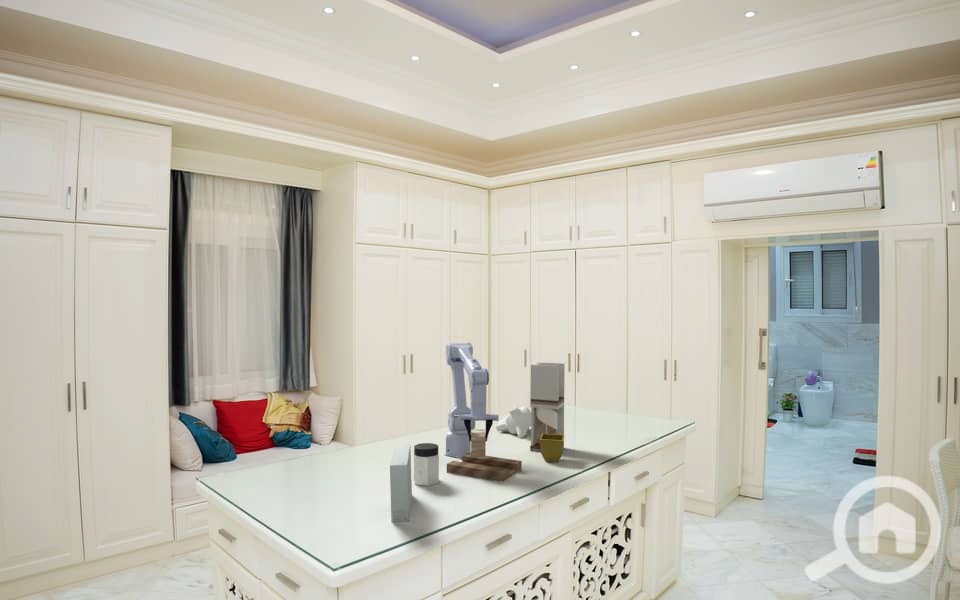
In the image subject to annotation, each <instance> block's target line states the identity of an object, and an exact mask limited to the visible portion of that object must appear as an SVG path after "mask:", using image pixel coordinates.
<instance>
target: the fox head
mask: <svg viewBox="0 0 960 600" xmlns="http://www.w3.org/2000/svg"><path fill="white" fill-rule="evenodd" d="M518 406H519V405H517V406H515V407H514V408H512V409H511V410H509V412H508V414H507V415H506V417H504V418H502V419H500V420H499V421H498V424H496V425H495V428H496V431H497V432H502V433H508V432H509V433H511V435H512V434H513V435H517V437H518V439H522V438H524V437H525V436H527V434H528V430H529V429H531V409H530V408H528V407H526V406H521V407H520V408H518Z"/></svg>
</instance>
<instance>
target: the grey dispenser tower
mask: <svg viewBox="0 0 960 600" xmlns="http://www.w3.org/2000/svg"><path fill="white" fill-rule="evenodd" d="M565 371H566V369H565V363H561V362H542V361H541V362H540V361H539V362H535V363H532V364H530V412H531V426H530V447H529V451H530V452H534V451H535V452H536V453H541V445H540V438H541V435H542V434H557V435H564V436H565ZM564 448H565V443H564V444H563V449H564ZM535 452H534V453H535Z"/></svg>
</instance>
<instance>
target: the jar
mask: <svg viewBox="0 0 960 600" xmlns="http://www.w3.org/2000/svg"><path fill="white" fill-rule="evenodd" d="M439 461H440V457H439V445H438V444H436V443H433V442H432V443H431V442H424V443H417V444H415V445H414V448H413V482H414V484H415V485H417V486H425V487H428V486H433V485H436V484H439V482H440V481H439V480H440V479H439V476H440V475H439V473H440V472H439V471H440V470H439V469H440V467H439V466H440V462H439Z"/></svg>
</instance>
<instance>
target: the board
mask: <svg viewBox="0 0 960 600" xmlns="http://www.w3.org/2000/svg"><path fill="white" fill-rule="evenodd" d="M461 460H462V461H457V460H452V461H450V462H448V463H446V473H449V474H454V475H459V476H460V475H461V476H467V477H473V478H477V479H483V480H484V479H485V480H490V481H495V480H496V481H495V482H501V481H502V483H504V482H505V480H506V481H507V480H508V479H510V478H511V477H513V476H514V475H515V473H516V474H517V473H518V472H520V471H521V470H522V465H523V463H522V462H523V461H522V460H519V459H511V458H504V457H497V456H491V455H485V456H471V453H467V454H465V455H463V456H462V458H461ZM512 475H513V476H512Z"/></svg>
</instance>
